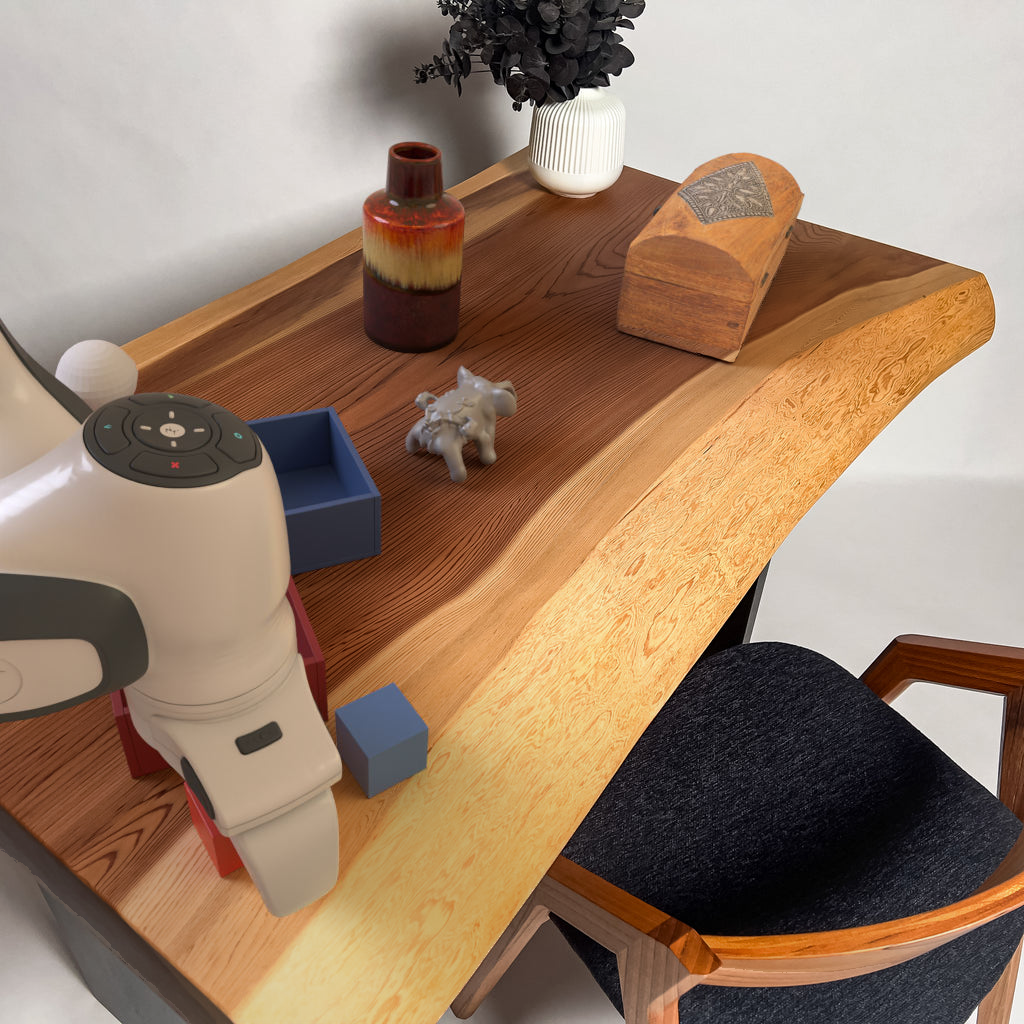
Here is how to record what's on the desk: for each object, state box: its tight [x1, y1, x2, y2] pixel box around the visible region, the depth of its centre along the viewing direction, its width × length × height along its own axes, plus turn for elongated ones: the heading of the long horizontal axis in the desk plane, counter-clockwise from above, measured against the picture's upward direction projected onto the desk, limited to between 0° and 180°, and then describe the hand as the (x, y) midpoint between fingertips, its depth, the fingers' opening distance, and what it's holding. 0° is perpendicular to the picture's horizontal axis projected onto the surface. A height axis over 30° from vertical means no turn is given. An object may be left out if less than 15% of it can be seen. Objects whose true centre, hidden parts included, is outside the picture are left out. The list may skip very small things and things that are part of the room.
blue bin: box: [243, 405, 382, 576], centre depth 81 cm, size 13×13×6 cm
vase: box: [361, 141, 466, 354], centre depth 103 cm, size 11×11×20 cm
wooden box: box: [615, 151, 805, 354], centre depth 118 cm, size 30×16×14 cm, turn 156°
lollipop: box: [54, 339, 139, 411], centre depth 79 cm, size 6×6×15 cm
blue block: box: [334, 682, 430, 799], centre depth 64 cm, size 4×4×4 cm
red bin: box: [109, 573, 329, 779], centre depth 68 cm, size 13×13×6 cm
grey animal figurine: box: [405, 365, 518, 484], centre depth 91 cm, size 9×12×8 cm
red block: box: [183, 780, 245, 878], centre depth 59 cm, size 4×4×4 cm
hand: (238, 818), depth 60 cm, fingers closed on red block, 4 cm apart
